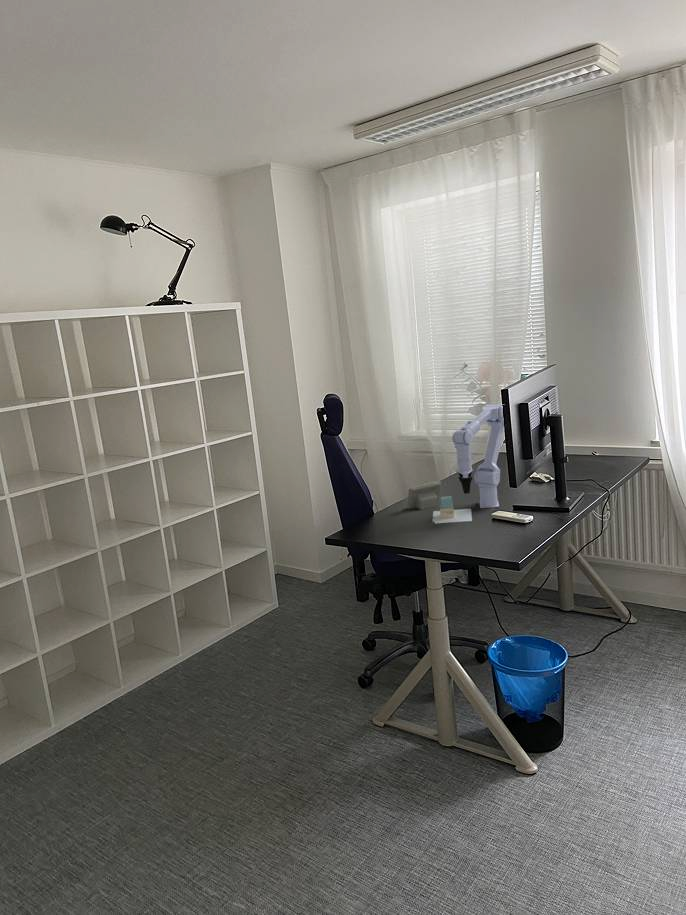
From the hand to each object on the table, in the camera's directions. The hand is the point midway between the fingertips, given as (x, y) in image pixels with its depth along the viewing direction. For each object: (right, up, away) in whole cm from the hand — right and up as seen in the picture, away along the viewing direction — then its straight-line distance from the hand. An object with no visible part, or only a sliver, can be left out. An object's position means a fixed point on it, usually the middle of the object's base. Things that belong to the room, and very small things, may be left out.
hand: (466, 491), depth 294 cm
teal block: (-8, -7, +2) cm, 11 cm away
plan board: (-6, -11, +2) cm, 12 cm away
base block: (-8, -11, +3) cm, 13 cm away
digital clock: (-15, -8, +23) cm, 28 cm away
